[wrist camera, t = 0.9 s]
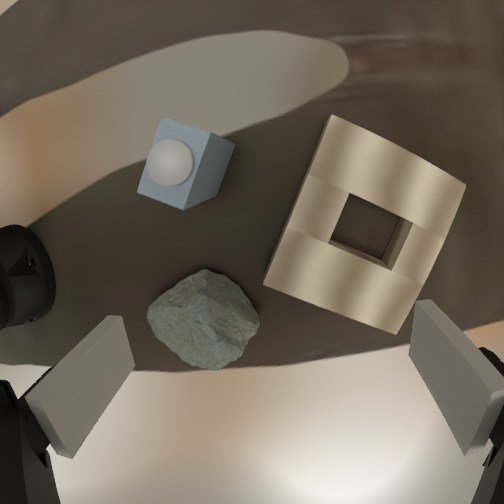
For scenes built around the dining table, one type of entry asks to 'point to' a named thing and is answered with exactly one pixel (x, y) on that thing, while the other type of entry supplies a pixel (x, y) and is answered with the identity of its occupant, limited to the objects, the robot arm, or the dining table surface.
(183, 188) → the keyed peg
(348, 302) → the hub block
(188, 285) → the decorative stone
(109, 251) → the dining table surface
